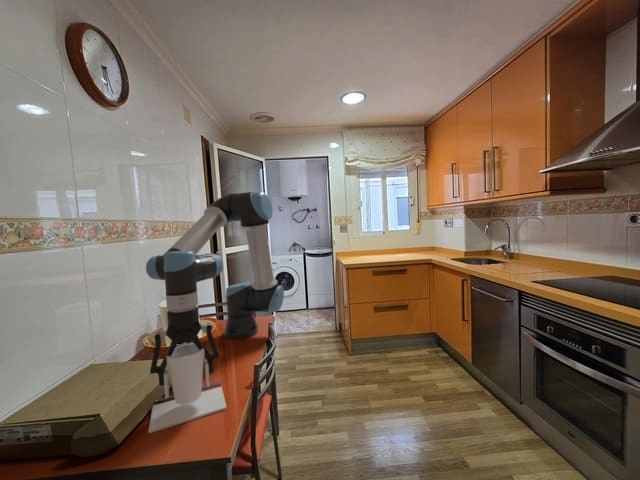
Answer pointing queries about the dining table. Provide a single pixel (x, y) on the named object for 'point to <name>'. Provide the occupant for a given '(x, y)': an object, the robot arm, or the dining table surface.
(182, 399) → the foam cup
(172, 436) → the dining table surface
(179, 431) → the dining table surface
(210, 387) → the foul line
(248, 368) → the dining table surface
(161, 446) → the dining table surface
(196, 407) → the mat
